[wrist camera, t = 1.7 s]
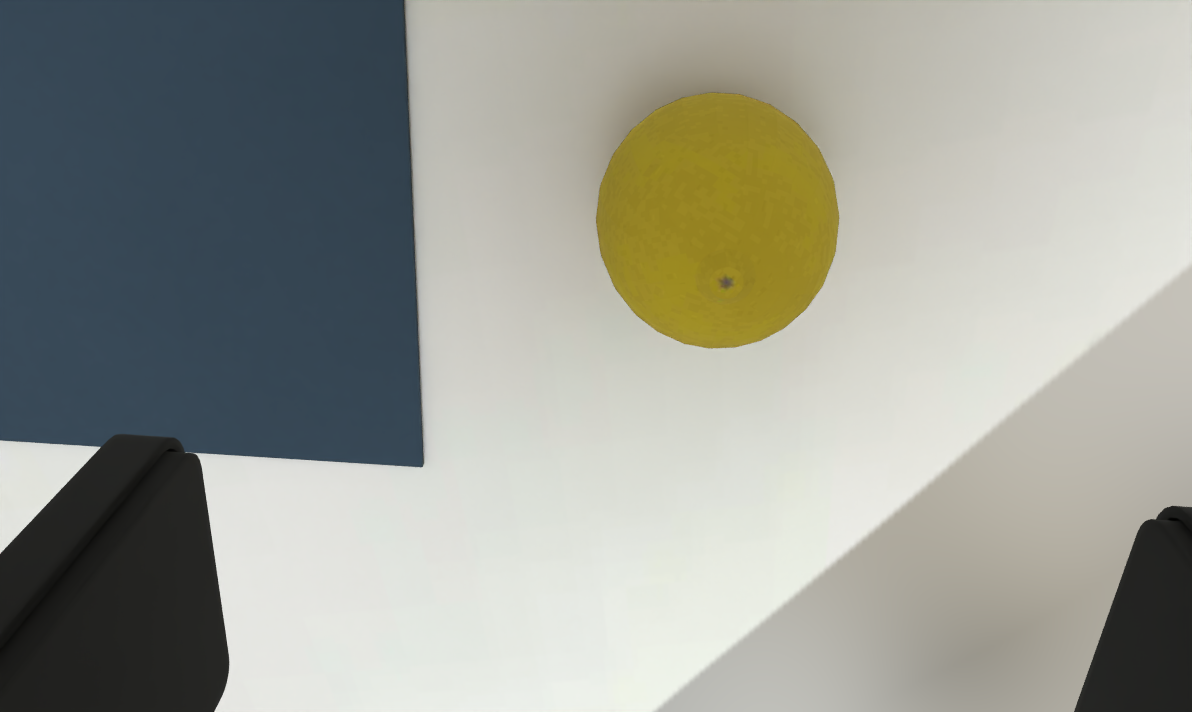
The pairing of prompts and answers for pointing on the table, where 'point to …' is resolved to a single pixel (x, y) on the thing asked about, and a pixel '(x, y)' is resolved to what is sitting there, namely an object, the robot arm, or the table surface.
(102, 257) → the mat
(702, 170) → the lemon
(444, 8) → the table surface
